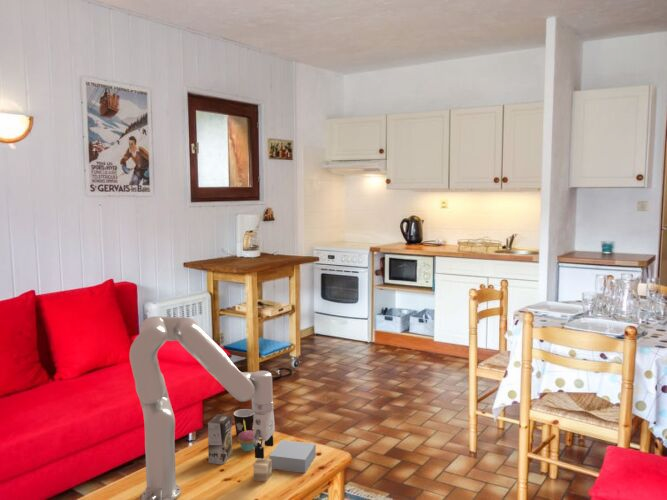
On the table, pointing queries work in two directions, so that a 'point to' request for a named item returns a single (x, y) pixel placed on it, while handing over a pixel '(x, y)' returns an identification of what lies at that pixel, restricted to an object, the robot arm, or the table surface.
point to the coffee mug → (248, 419)
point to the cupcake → (246, 439)
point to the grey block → (293, 456)
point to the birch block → (262, 469)
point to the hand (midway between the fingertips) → (264, 451)
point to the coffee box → (220, 438)
